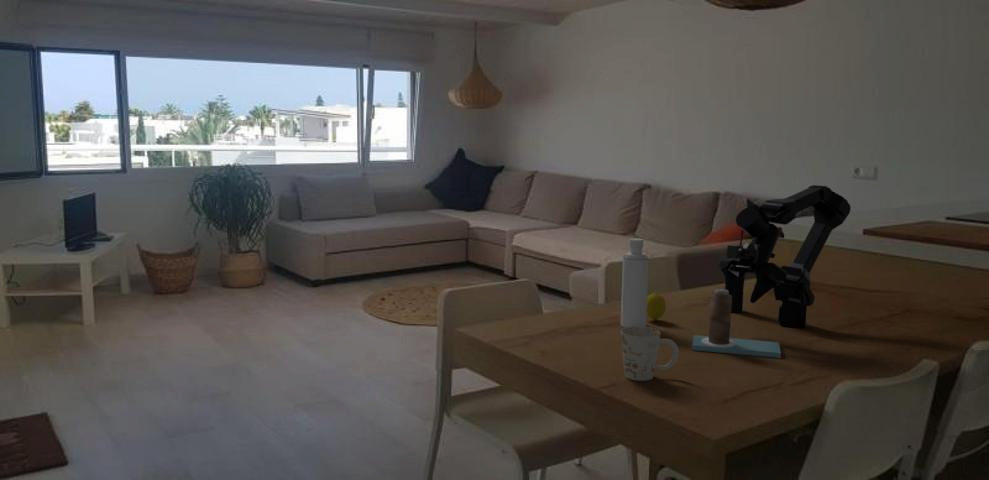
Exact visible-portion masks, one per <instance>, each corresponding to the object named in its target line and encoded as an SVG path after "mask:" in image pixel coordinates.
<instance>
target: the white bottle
mask: <svg viewBox="0 0 989 480" xmlns="http://www.w3.org/2000/svg"><path fill="white" fill-rule="evenodd" d="M628 243H629V244H628V245H629V250H630V251H629V252H626V253H625V254H624V255H623V256H622V271H621V272H622V273H621V274H622V277H621V279H622V280H621V303H620V304H621V306H620V326H621V327H623V328H625V327H630V326H644V327H647V314H646V313H647V297H648V288H649V287H648V285H649V283H648V282H649V260H650V259H649V257H650V256H647V254H646V253H644V252H643V247H644V239H643V238H637V237H635V238H629V242H628Z"/></svg>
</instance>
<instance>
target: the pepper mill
mask: <svg viewBox="0 0 989 480" xmlns="http://www.w3.org/2000/svg"><path fill="white" fill-rule="evenodd" d="M731 305H732V296H731V295H729V291H728V290H725V288H724V289H723V288H716V289H714V293H710V309H709V310H710V313H709V324H708V325H709V327H708V328H709V329H708V330H709V331H708V336H709V342H710V343H713V344H718V345H726V344H729V339H730V338H731V323H732V322H731V319H732V318H731V317H732V312H731Z"/></svg>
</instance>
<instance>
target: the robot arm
mask: <svg viewBox="0 0 989 480" xmlns="http://www.w3.org/2000/svg"><path fill="white" fill-rule="evenodd" d="M808 208H812V209H813V214H812V215H813V219H814V222H813V224H812V226H811V227H810V230H809V231H808V234H807V235H806V236H805V239H804V240H803V243H802V244H801V247H800V248H799V250H798V251H797V254H796V256H795V258H794V259H793V261H792V263H791V264H790V265H788V266H787V265H785V264H784V265H782V266H781V267H780V266H779V265H777V264H776V263H774V262H769V261H770V259H774V258H775V257H776V254H775V253H773V252H774V249H775V247H776V245H777V243H778V241H779V239H780V238H781V239H784V238H785V233H784V231H783V227H780V226H776V224H777V225H789V224H790V223H791V222H792V221H793V220H795V219H796V217H797V214H799V213H800V212H802V211H804V210H807V209H808ZM851 209H852V208H851V205H850V203H849V201H848V200H847V199H846V198H845V197H843V196H842V195H841V194H839V193H837V192H835V191H833V190H832V189H831V188H830V187H828V186H826V185H814V184H813V185H809V186H808V188H805V189H802V190H800V191H798V192H797V193H794V194H792V195H789V196H787V197H785V198H775V199H773V198H772V199H767V200H765V201H763V203H762V205H760V206H758V204H754V203H749V204H748V205H747V207H746V208H744V209H742V210H740V212H739V213H738V214H737V215H736V217H735V222H736V223H735V224H736V225H737V226H738V227H739V228H740V229H741V231H742V230H744V231H743V232H745V233H746V235H748V236H749V237H750V238H751V239H752V240H751V242H750V243H749V242H746V243H744V244H743V245H741V246H739V245H727V247H726V254H725V258H727V259H723V260H720V262H719V264H718V269H719V270H720V273H723V276H724V280H725V285H724V289H725V290H728V291H729V295H731V296H732V295H733V293H734V292H735V290H736V289H737V288H738V286H739V285H740V284H741V282H742V281H743V279H741V278H742V277H743V276H746V274H749V275H755V277H756V278H755V279H756V281H755V284H754V287H753V290H752V292H751V295H750V297H749V298H750V299H749V302H750V303H752V304H755V303H756V302H758V300H759V299H761V298H762V297H763V296H765V294H767V293H768V292H769V291H770V290H772V289H773V292H774V299H775V301H780V302H781V303H780V304H779V305H778V312H777V321H778V323H779V325H780V327H781V326H782V327H790V328H792V327H793V328H804V329H806V328H808V327H807V311H808V310H807V309H808V307H809V306H810V307H811V306H812V305H813V304H814V302H815V299H816V296H815V293H813V291H812V289H811V286H812V285H811V284H812V283H811V282H812V281H811V277H810V273H811V271H812V269H813V268H814V265H815V263H816V261H817V259H818V258H819V256H820V254H821V251H822V250H823V248H824V246H825V245H826V242H827V240H828V238H829V237H830V235H831V233H832V231H833V230H834V229H836V228H837V227H840V226H841V225H843V223H844V222H845V221H846V220H847V218H848V216H849V214H850V213H851ZM730 258H732V259H730ZM734 260H737V261H738V262H739V263H742V265H740V264H739V263H737V262H736V261H734Z"/></svg>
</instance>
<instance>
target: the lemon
mask: <svg viewBox="0 0 989 480" xmlns="http://www.w3.org/2000/svg"><path fill="white" fill-rule="evenodd" d="M665 313H666V301H665V297H663V295H661V294H660V293H658V292H657V291H655V292H653V293H650V294H649V295H647V313H646V316H648V317H649V318H650V319H652V320H653V321H655V322H656V321H657V320H658V319H660V318H662V317H663V316H664V314H665Z"/></svg>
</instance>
